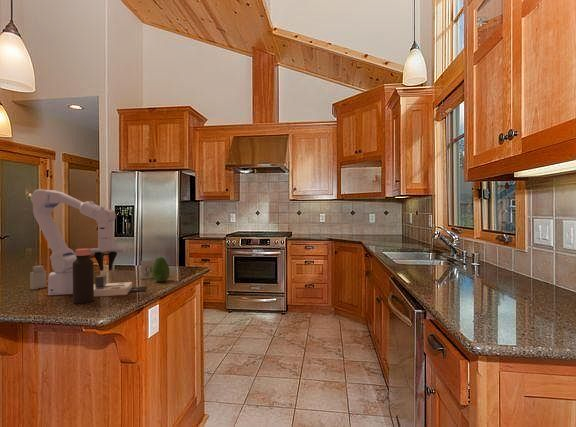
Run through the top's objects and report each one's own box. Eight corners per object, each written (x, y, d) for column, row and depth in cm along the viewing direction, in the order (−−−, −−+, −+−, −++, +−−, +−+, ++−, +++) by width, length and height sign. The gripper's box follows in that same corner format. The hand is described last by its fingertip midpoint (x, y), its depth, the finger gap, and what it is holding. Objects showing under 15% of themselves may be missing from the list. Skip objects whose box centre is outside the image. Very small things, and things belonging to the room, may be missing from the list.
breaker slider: (95, 287, 135) (95, 277, 135) (98, 284, 139) (98, 275, 139) (103, 286, 136) (103, 276, 136) (105, 284, 140) (105, 274, 140)
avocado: (157, 279, 162) (157, 255, 162) (172, 280, 161) (172, 256, 161) (148, 283, 154) (148, 258, 154) (164, 284, 153) (164, 258, 153)
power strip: (85, 297, 131) (85, 290, 130) (94, 289, 142) (94, 283, 142) (144, 293, 136) (144, 287, 136) (148, 286, 148) (148, 281, 148)
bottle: (74, 300, 126) (74, 248, 126) (95, 298, 129) (94, 247, 129) (71, 305, 120) (70, 250, 120) (92, 302, 123) (92, 249, 122)
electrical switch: (141, 279, 162) (140, 260, 163) (140, 278, 167) (140, 260, 168) (161, 278, 166) (161, 259, 167) (160, 277, 171) (160, 259, 172)
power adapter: (47, 286, 147) (46, 260, 147) (34, 289, 142) (34, 262, 142) (42, 286, 148) (41, 259, 148) (29, 289, 143) (29, 261, 143)
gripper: (83, 239, 132) (83, 272, 132) (122, 238, 136) (122, 271, 136) (88, 237, 138) (88, 269, 139) (126, 236, 142) (126, 268, 143)
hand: (106, 270), depth 138 cm, fingers open, 3 cm apart
